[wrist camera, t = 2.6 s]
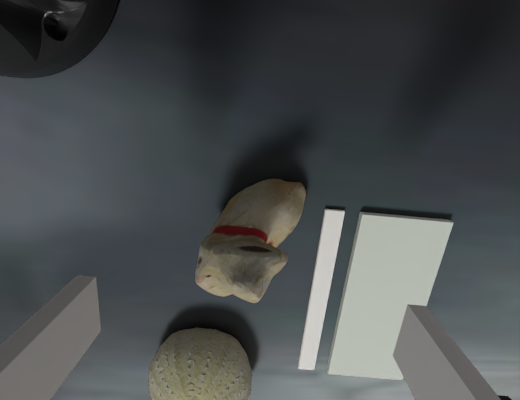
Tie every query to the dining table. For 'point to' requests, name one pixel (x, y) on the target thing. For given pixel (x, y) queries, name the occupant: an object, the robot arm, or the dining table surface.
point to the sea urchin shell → (200, 367)
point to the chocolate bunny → (250, 239)
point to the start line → (320, 286)
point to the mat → (384, 290)
